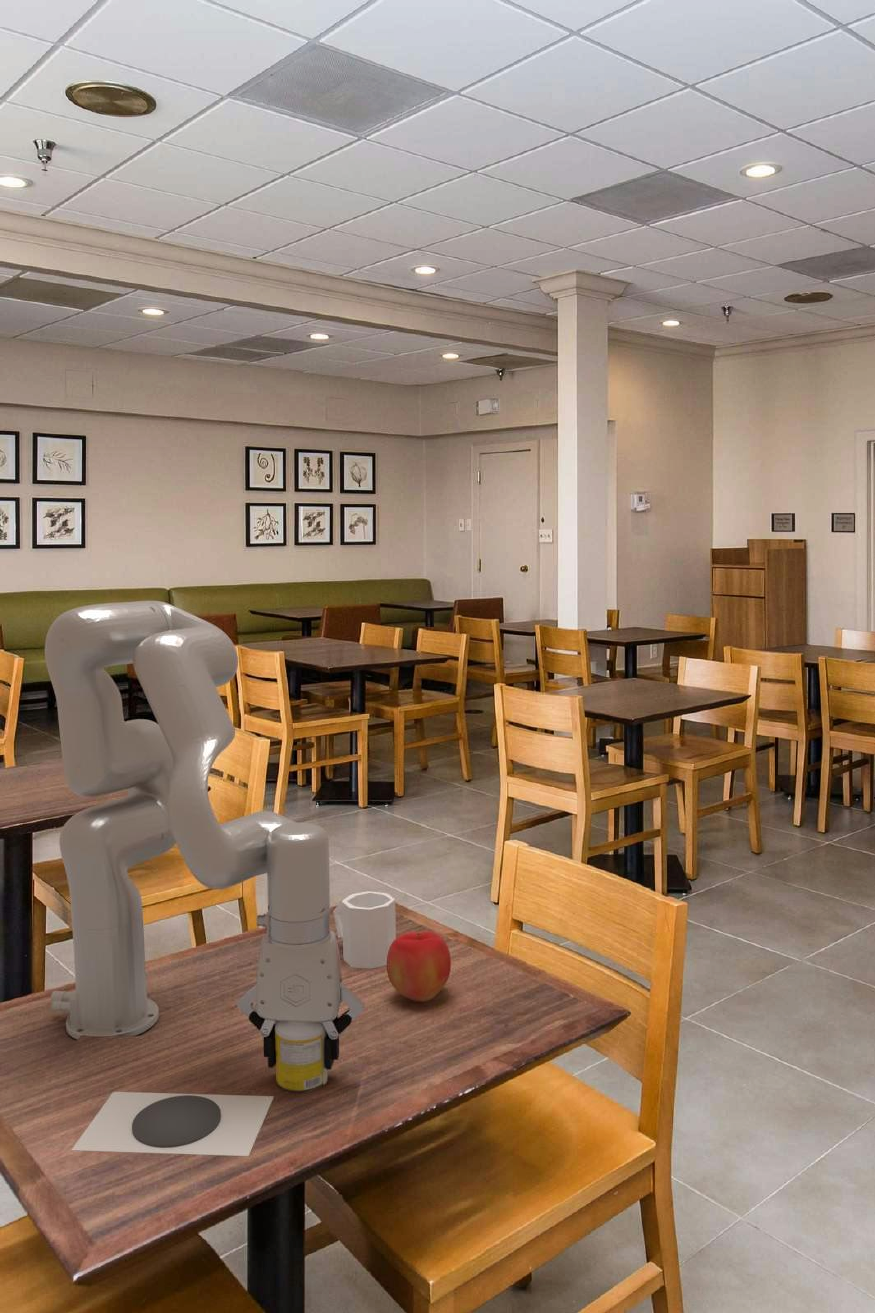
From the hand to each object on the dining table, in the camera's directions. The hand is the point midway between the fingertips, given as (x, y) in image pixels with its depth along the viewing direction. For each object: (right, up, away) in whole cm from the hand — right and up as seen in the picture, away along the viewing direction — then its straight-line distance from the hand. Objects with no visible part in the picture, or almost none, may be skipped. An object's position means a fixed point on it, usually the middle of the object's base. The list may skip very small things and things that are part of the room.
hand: (301, 1061), depth 128 cm
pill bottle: (0, -3, 0) cm, 3 cm away
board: (-13, -5, -9) cm, 17 cm away
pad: (-13, -3, -9) cm, 16 cm away
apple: (+14, -1, +25) cm, 29 cm away
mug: (+4, +1, +41) cm, 41 cm away
